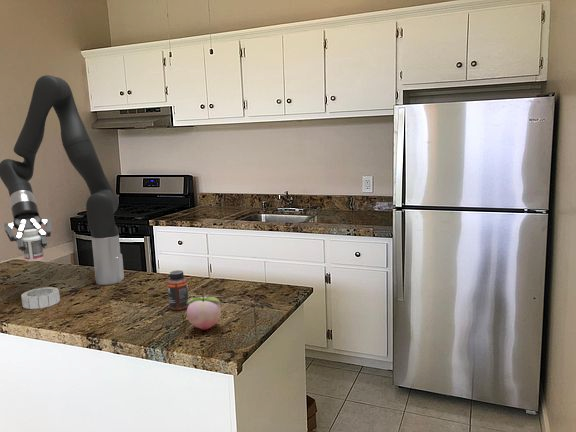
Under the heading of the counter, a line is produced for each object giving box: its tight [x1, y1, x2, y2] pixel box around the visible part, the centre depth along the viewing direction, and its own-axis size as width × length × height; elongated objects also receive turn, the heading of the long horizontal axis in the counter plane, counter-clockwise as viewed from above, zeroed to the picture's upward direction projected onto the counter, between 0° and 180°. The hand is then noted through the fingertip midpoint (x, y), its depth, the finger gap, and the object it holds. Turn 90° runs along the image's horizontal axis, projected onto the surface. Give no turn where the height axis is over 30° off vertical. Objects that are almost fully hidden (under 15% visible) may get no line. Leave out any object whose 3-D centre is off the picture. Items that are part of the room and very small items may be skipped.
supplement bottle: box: [166, 270, 190, 311], centre depth 141 cm, size 6×6×11 cm
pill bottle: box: [22, 229, 44, 262], centre depth 149 cm, size 5×5×10 cm
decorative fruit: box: [186, 293, 222, 330], centre depth 124 cm, size 9×8×10 cm
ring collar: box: [20, 286, 61, 310], centre depth 148 cm, size 10×10×4 cm
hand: (33, 247), depth 147 cm, fingers closed on pill bottle, 5 cm apart
